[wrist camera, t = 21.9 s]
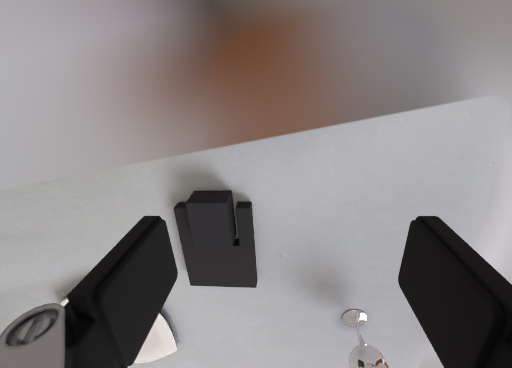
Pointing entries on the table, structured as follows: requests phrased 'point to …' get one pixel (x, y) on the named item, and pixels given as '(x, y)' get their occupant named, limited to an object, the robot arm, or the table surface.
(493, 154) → the table surface
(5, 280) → the table surface
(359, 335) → the wineglass
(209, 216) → the black rectangular block
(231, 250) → the socket pad
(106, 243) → the table surface
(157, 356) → the plate
